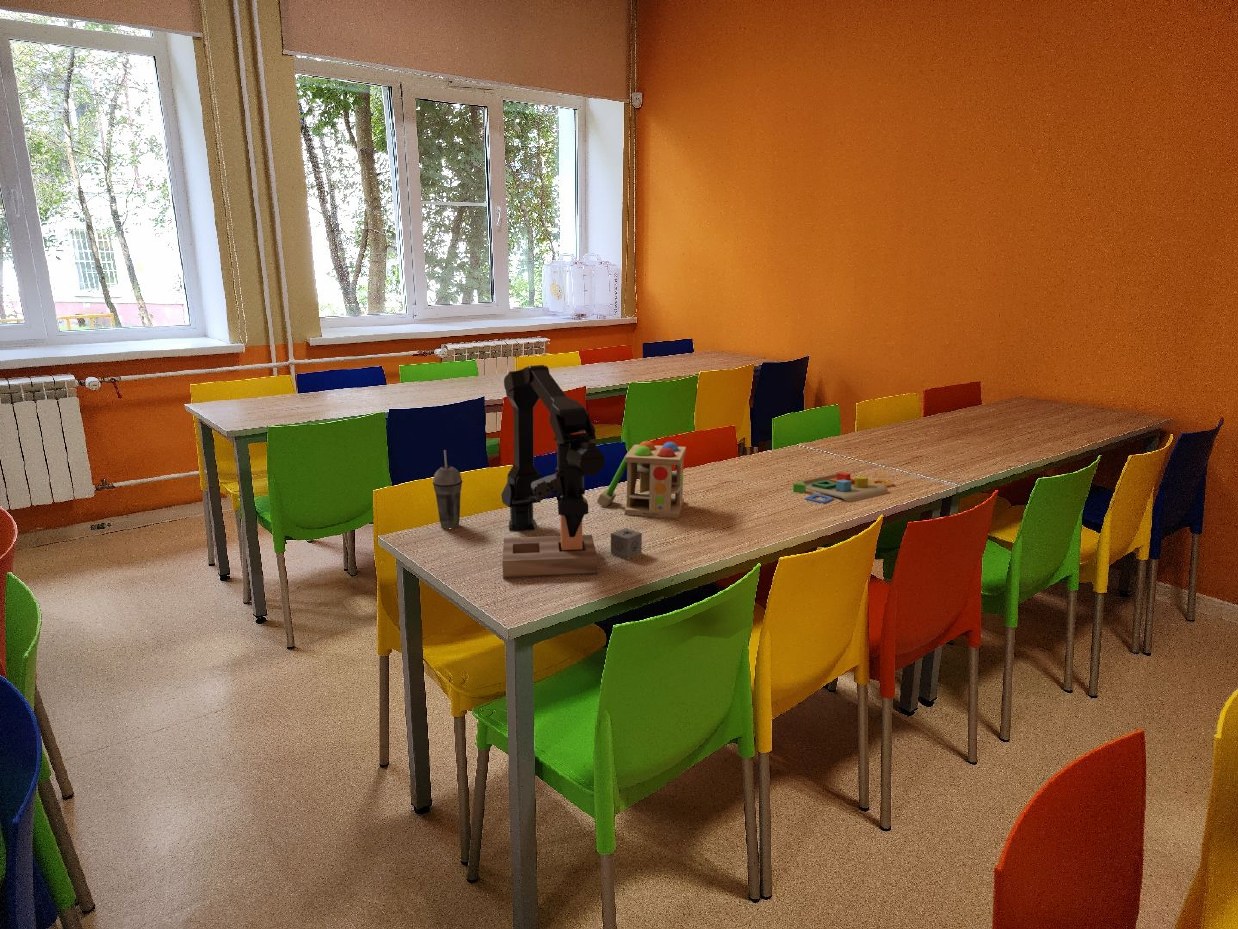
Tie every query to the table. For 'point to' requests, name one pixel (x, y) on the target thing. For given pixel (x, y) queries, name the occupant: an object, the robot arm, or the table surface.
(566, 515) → the robot arm
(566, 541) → the pin
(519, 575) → the socket block
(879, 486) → the shape sorter
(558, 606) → the table surface
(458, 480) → the beverage cup
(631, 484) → the pounding bench toy
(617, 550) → the dice cube
